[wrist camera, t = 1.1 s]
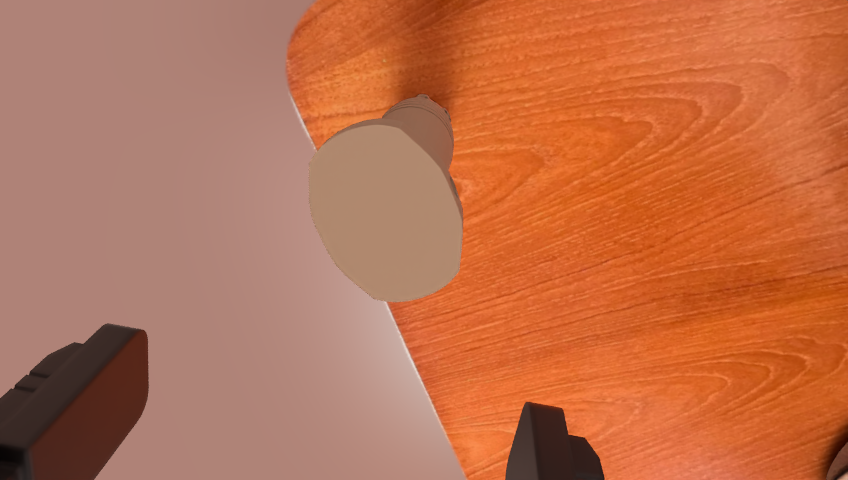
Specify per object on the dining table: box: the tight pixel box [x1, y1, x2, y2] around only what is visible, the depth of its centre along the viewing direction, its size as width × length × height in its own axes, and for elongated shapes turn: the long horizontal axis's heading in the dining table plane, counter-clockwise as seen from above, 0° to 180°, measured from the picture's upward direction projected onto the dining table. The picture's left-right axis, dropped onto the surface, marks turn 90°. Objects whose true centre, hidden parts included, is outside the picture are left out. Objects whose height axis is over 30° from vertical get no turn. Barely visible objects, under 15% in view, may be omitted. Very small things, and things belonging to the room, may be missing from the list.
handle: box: [309, 94, 463, 302], centre depth 28 cm, size 5×6×15 cm
